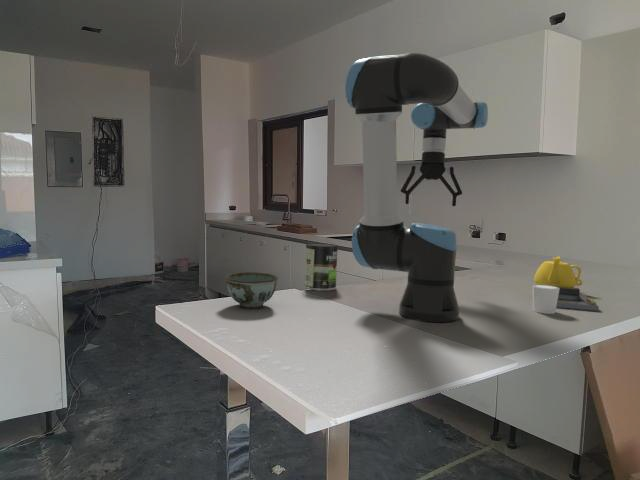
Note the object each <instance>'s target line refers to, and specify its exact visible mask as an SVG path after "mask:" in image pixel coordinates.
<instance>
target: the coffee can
mask: <svg viewBox="0 0 640 480" xmlns="http://www.w3.org/2000/svg"><path fill="white" fill-rule="evenodd" d="M305 248H306V251H305V274H304V276H305V278H304V279H305V280H304V288H305V289H307V290H309V291H310V290H311V291H321V292H329V291H335V290H336V289H337V272H338V271H337V268H338V250H339V249H338V248H339V245H338V244H335V243H322V242H320V243H319V242H318V243H317V242H313V243H312V242H311V243H306V244H305Z"/></svg>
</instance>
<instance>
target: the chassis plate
mask: <svg viewBox="0 0 640 480" xmlns="http://www.w3.org/2000/svg"><path fill="white" fill-rule="evenodd" d="M555 287H558V288H560V289H559V295H558V300H557V305H556V308H557V309H559V308H560V309H566V308H570V309H569V310H577V309H580V310H579V311H588V310H589V311H591V312H599V308H600V307H599V305H598V304H597V301H595V300H594V299H593V298H591V297H588V296H586V295H585V294H583V293H580V291H581V289H580V288H579V287H575V286H574V287H562V286H555ZM561 299H565V300H561ZM573 300H575V301H573ZM579 301H580V302H579Z"/></svg>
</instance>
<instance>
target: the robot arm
mask: <svg viewBox="0 0 640 480" xmlns="http://www.w3.org/2000/svg"><path fill="white" fill-rule="evenodd" d="M344 91H345V92H344V93H345V99H346V101H347V104H348V106H349V107H350V108H352V109H354V110H355V113H354V114H355V117H357V118H358V119H359V120H360V122H361V138H362V163H363V164H362V165H363V166H362V167H363V168H362V169H363V171H362V172H363V195H364V196H363V197H364V215H363V216H362V217H361V218H360V219H359V223H358V224H357V225H356V226H355V227H354V229H353V231H352V237H351V249H352V253H353V256H354V259H355V261H356V262H357V263H358V264H359V265H360V266H362V267H364V268H371V269H372V270H385V271H393V272H403V273H407V284H406V287H405V289H404V291H403V292H404V293H403V295H402V297H401V299H400V302H399V308H398V313H399V315H401V316H403V317H405V318H407V319H411V320H414V321H415V320H416V321H421V322H430V323H431V322H432V323H449V322H454V321H457V320H459V319H460V307H459V303H458V299H457V296H456V292H455V286H454V285H455V273H456V272H455V271H456V259H457V256H456V255H457V250H458V247H457V234H456V232H455V231H454V230H453V229H450V228H448V227H445V226H440V225H435V224H429V223H423V222H412V223H411V224H410V226H409V227H406V226H404V218H403V217H402V216H401V215H400V214H399V212H398V170H397V169H398V167H397V166H398V165H397V164H398V163H397V162H398V161H397V160H398V159H397V158H398V157H397V119H398V118H399V116H401V115H402V113H403V106H404V105H405V106H406V105H415V107H414V108H413V109H412V111H411V114H410V117H411V118H410V119H411V122H412V123H413V125H414V126H415V127H417V128H418V129H420V130H422V131H423V134H422V135H423V136H422V148H421V151H423V152H422V153H421V165H420V166H415V165H412V166H411V170H410V173H409V175H408V177H407V179H406V180H405V182H404V183H403V186H402V187H401V189H400V192H401V193H402V194H404V195H405V202H404V203H405V205H408V209H407V215H411V214H412V202H413V201H412V199H413V195H412V194H411V193H412V192H413V191H414V190H415V189H416V188H417V187H418V186H419V185H420V184H421V183H422V182H423V181H424V179H426V180H427V181H430V180H433V181H437V180H440V181H441V182H442V184H443V185H444V186H445V187H446V189H447V190H448V191H449V193H450V194H451V195H452V196H450V197H449V199H450V200H449V211H448V212H449V214H448V217H452V216H453V215H452V214H453V213H452V211H453V207H456V205H457V197H458V196H461V195H462V194H463V191H462V189H461V186H460V184H459V182H458V179H457V177H456V175H455V172H454V167H453V166H450V167H445V160H446V159H445V158H446V157H445V156H446V153H445V151H446V142H447V139H446V138H447V130H452V129H460V130H461V129H473V130H475V129H479V128H481V129H482V128H484V127H485V126H486V125H487V123H488V118H489V108H488V104H487V103H486V102H483V101H481V102H480V101H479V102H478V101H476V102H475V101H473V100H472V99H471V97H469V96H468V94H467V93H466V92H465V90H464V89H463V88H462V87H461V85H460V83H459V77H458V76H457V73H456V72H455V71H454V70H453V68H451V67H450V66H449V65H448V64H446V63H445V62H443V61H441V60H439V59H438V58H435V57H433V56H431V55H428V54H423V53H419V52H408V53H402V54H391V55H379V56H370V57H367V58H365V57H364V58H361V59H358V60H356V61H355V62H353V63H352V65H351V66H350V68H349V70H348V72H347V75H346V79H345V86H344ZM418 171H419V172H420V173H421V175H420V176H419V178H417V180H416V181H415V182H414V183H413V184H412V185H411V186H410V187H409V185H410V183H411V181H412V180H413V178H414V176H415V175H416V174H417V173H418ZM445 172H447V174H450V178H451V180H452V182H453V186H454V187H455V189H456V191H455V190H454V189H453V188H452V186H451V185H450V184H449V183H448V181H447V180H446V179H445V177H444V176H443V175H444V173H445ZM408 187H409V188H408Z"/></svg>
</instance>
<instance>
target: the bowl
mask: <svg viewBox="0 0 640 480" xmlns="http://www.w3.org/2000/svg"><path fill="white" fill-rule="evenodd" d="M278 279H279V276H277V275H275V274H271V273H266V272H254V271H250V272H249V271H248V272H234V273H233V272H232V273H229V274H227V275H226V276H225V280H226V285H227V291H228V293H229V295H230V297H231V299H233V300H234V302H236V303H238V305H239V307H241V308H242V309H249V310H250V309H251V310H256V309H261V308H263V307H264V303H267V302H269V300H270V299H271V298H272V297H273V295H274V294H275V292H276V288H277V287H276V286H277V282H278Z"/></svg>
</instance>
